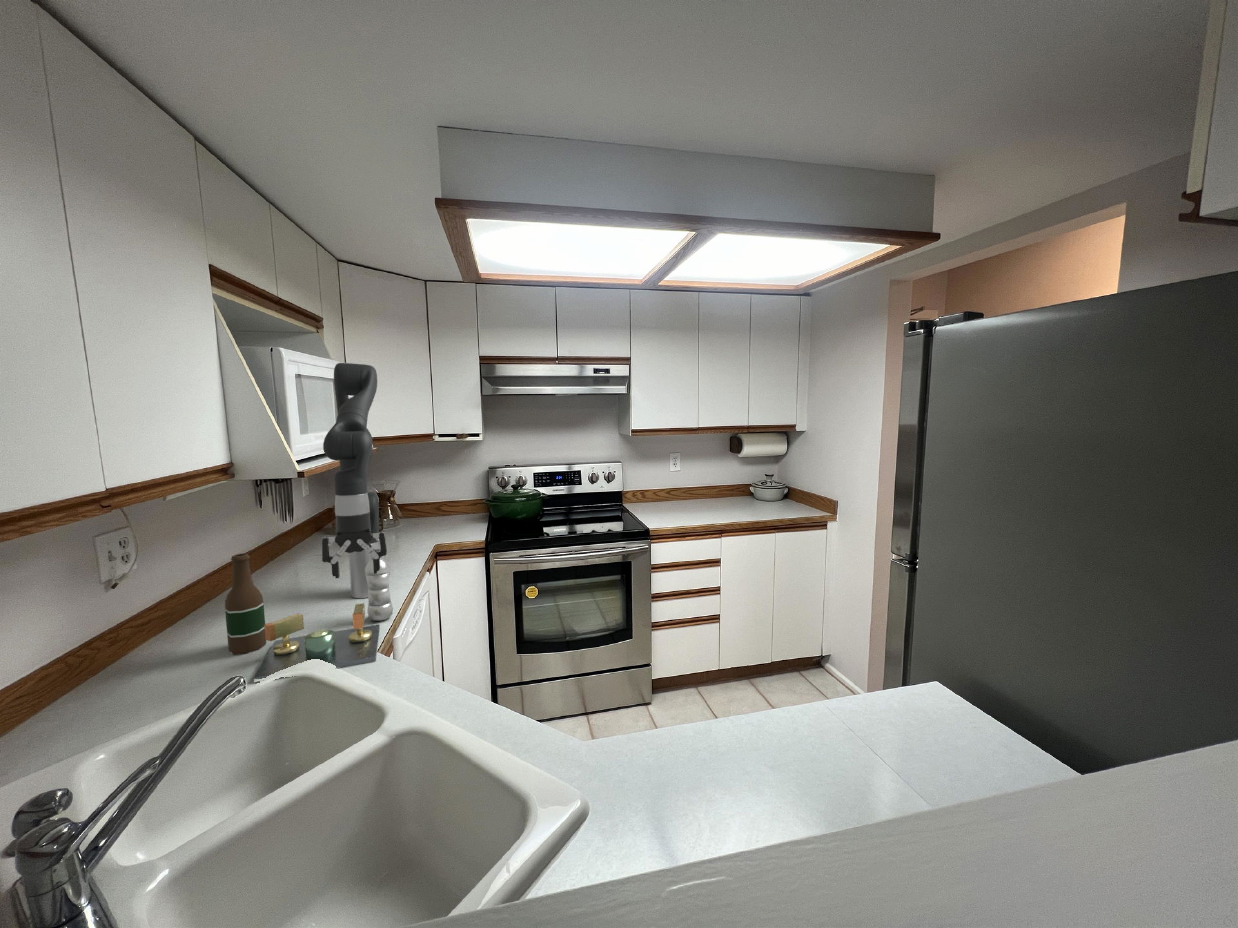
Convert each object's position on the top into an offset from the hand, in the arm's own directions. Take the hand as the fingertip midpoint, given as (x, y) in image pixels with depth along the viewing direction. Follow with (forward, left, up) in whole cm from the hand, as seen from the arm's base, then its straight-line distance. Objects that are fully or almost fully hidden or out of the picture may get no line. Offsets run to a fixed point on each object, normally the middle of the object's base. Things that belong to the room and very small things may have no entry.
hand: (356, 575), depth 127 cm
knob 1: (0, -16, -16) cm, 23 cm away
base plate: (+2, -8, -18) cm, 20 cm away
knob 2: (0, 0, -16) cm, 16 cm away
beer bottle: (-9, -26, -18) cm, 33 cm away
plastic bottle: (-15, +4, -18) cm, 24 cm away
